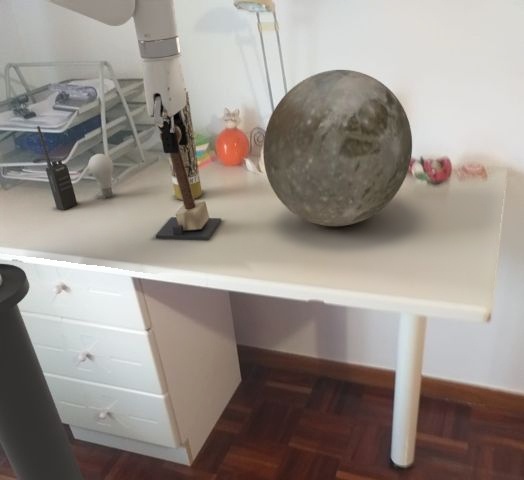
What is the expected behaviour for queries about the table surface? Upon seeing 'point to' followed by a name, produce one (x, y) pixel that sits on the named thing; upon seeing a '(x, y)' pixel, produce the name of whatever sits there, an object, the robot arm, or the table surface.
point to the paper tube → (187, 156)
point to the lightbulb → (102, 172)
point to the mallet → (187, 194)
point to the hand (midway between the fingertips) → (176, 147)
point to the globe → (337, 148)
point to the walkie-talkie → (59, 181)
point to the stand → (176, 231)
